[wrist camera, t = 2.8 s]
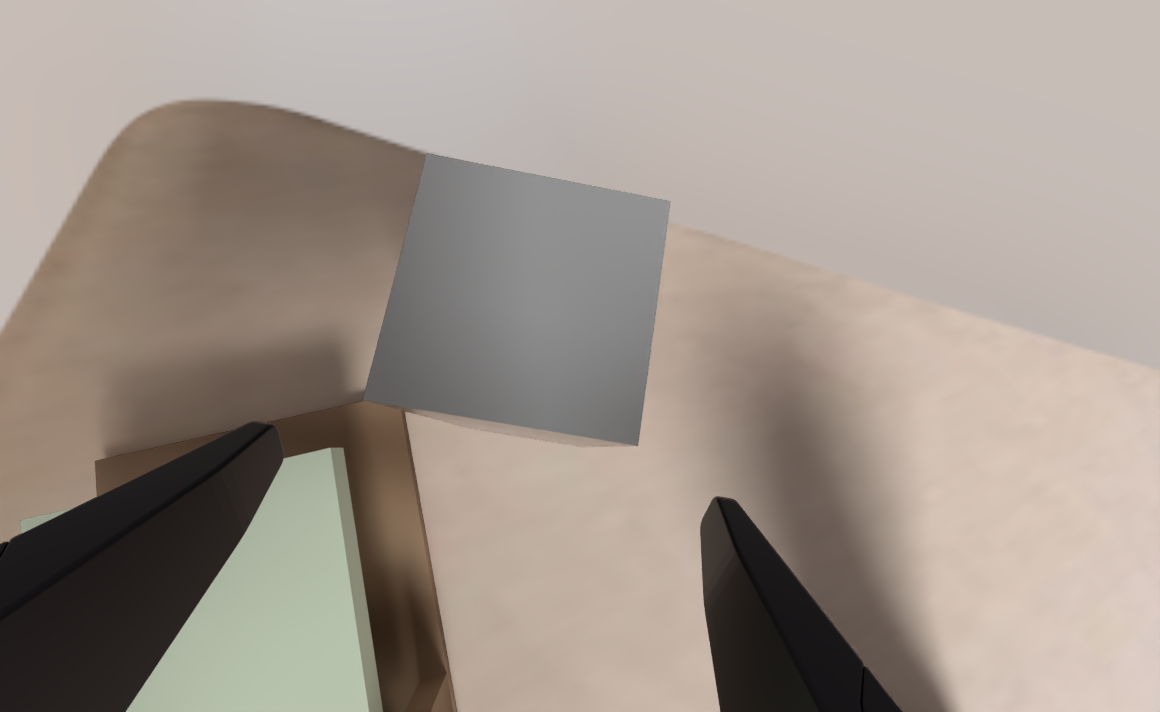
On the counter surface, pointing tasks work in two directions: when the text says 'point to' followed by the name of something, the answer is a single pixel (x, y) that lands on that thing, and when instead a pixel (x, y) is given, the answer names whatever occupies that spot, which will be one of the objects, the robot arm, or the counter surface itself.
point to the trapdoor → (278, 610)
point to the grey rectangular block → (523, 306)
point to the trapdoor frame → (363, 540)
